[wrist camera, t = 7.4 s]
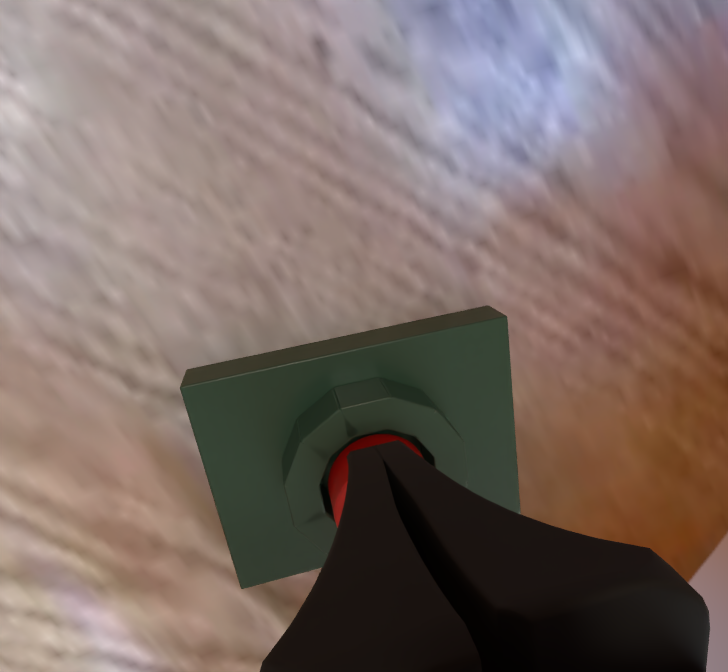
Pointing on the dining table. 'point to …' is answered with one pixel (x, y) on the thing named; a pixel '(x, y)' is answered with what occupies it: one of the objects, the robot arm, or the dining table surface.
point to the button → (340, 468)
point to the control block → (348, 427)
